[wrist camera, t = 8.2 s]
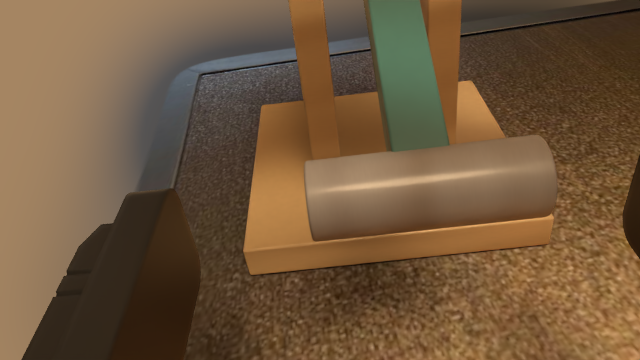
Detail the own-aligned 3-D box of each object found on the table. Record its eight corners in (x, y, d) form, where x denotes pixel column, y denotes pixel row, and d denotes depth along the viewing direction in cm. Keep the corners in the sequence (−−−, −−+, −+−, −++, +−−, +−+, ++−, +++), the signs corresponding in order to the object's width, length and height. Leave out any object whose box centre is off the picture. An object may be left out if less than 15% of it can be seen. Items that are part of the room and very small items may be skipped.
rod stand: (550, 245, 17) (663, -334, 9) (249, 276, 18) (101, -249, 10) (470, 102, 25) (492, -272, 17) (265, 126, 26) (192, -228, 18)
